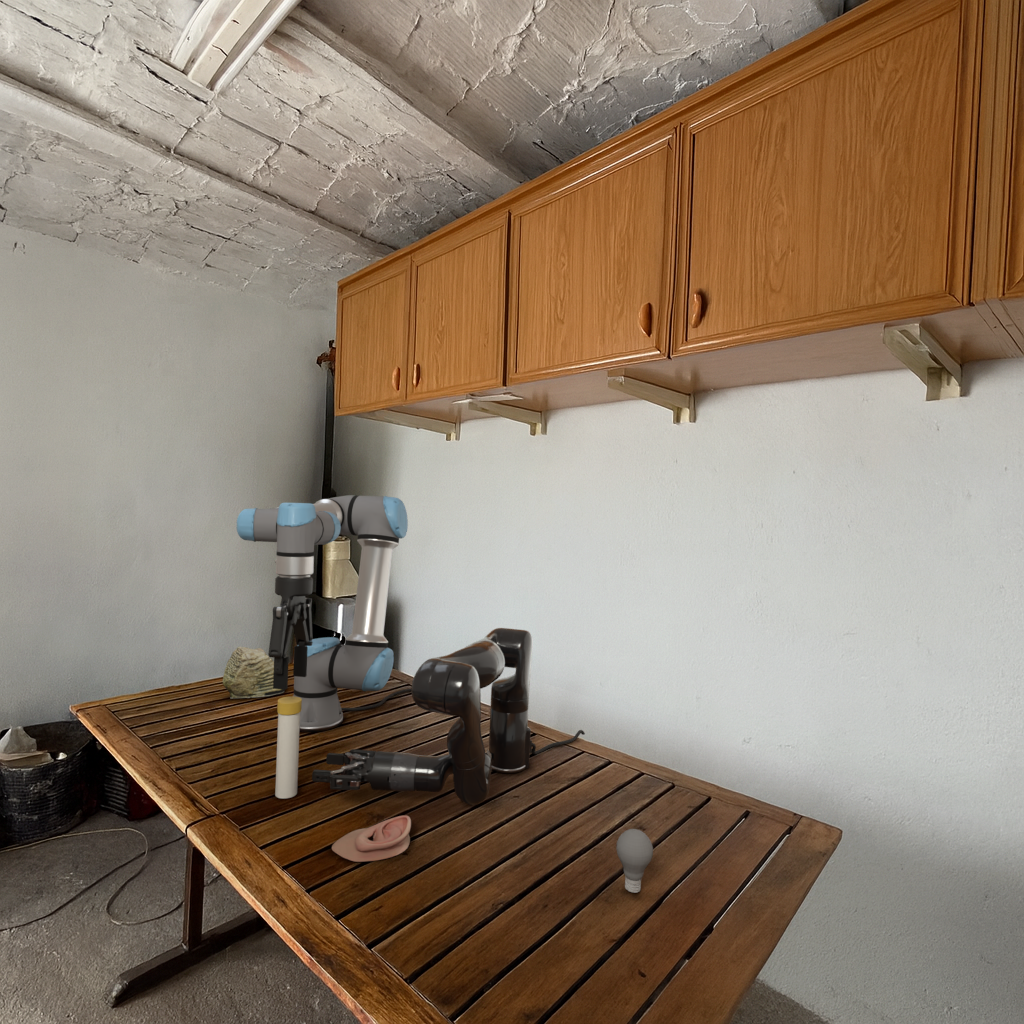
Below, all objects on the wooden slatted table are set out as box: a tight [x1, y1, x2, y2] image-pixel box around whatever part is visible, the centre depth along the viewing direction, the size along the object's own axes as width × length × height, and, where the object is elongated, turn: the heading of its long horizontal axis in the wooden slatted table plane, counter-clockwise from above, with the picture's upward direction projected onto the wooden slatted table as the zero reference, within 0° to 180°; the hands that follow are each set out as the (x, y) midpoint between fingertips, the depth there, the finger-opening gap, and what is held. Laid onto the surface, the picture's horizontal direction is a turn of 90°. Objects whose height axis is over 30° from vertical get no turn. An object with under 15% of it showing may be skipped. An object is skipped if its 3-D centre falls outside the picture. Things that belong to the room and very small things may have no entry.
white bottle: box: [274, 712, 300, 800], centre depth 134 cm, size 4×4×20 cm
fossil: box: [222, 646, 286, 699], centre depth 198 cm, size 9×18×15 cm, turn 132°
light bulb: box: [615, 828, 654, 894], centre depth 106 cm, size 6×6×10 cm
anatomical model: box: [331, 814, 412, 863], centre depth 116 cm, size 13×4×12 cm
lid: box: [276, 695, 302, 715], centre depth 134 cm, size 5×5×2 cm
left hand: (290, 682), depth 134 cm, fingers open, 9 cm apart
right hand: (320, 766), depth 134 cm, fingers open, 8 cm apart
